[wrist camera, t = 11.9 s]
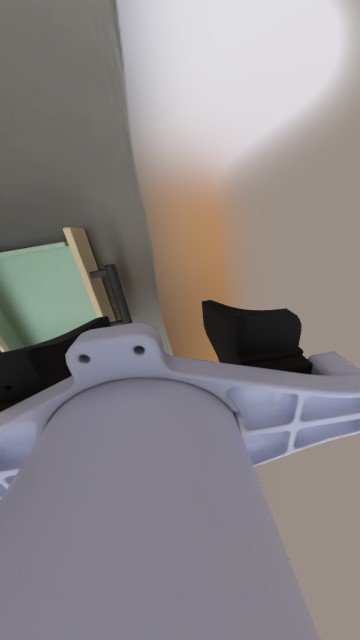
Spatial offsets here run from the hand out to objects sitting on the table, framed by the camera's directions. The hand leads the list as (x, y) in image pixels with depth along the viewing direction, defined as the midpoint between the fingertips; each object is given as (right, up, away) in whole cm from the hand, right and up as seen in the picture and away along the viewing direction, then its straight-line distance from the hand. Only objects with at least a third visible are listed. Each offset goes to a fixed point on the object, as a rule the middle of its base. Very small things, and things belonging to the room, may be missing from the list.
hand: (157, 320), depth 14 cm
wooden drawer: (-11, +2, +7) cm, 14 cm away
